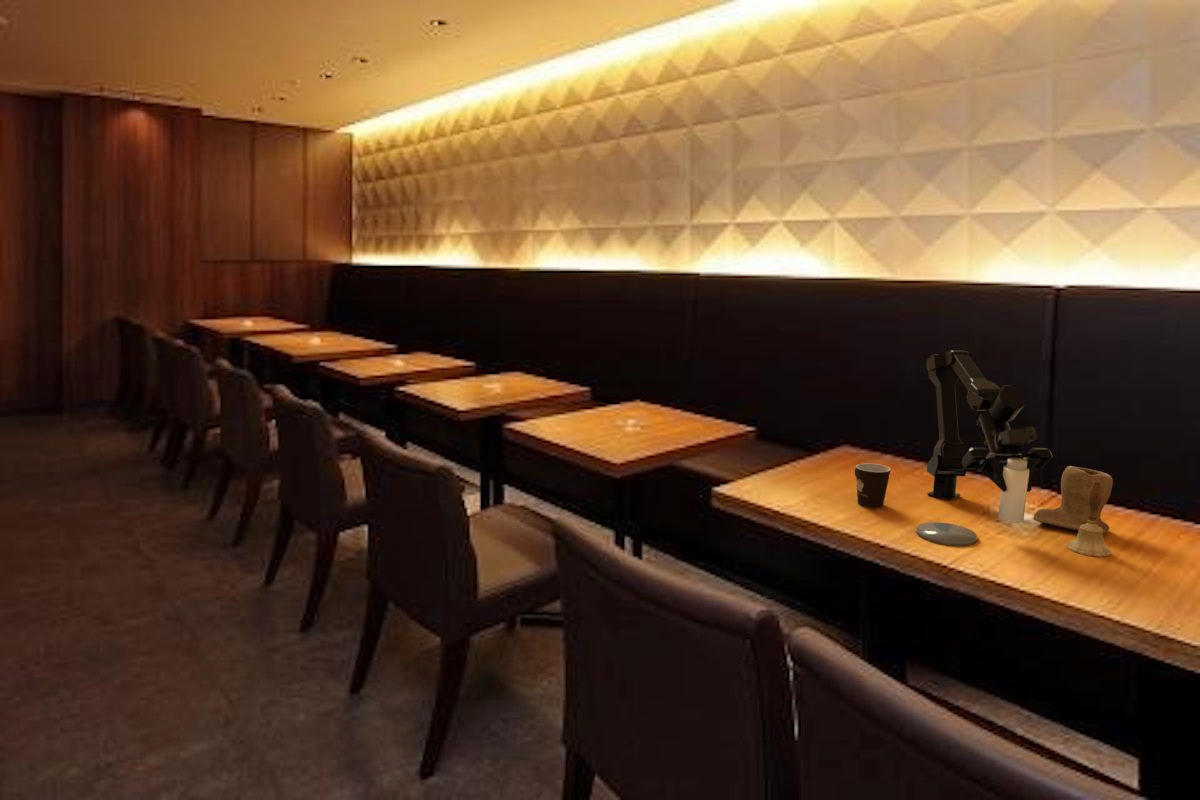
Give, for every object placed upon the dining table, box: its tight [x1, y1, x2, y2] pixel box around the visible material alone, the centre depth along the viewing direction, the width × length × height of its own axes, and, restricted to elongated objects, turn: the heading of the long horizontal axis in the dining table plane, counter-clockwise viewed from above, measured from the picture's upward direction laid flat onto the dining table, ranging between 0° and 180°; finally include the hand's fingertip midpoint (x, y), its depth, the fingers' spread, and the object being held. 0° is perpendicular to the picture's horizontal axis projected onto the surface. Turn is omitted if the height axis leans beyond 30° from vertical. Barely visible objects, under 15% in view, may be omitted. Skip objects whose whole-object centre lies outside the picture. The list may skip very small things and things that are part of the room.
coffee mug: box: [854, 462, 891, 509], centre depth 208 cm, size 12×9×10 cm
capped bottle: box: [998, 458, 1029, 523], centre depth 179 cm, size 5×5×14 cm
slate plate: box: [915, 521, 978, 547], centre depth 185 cm, size 13×13×1 cm
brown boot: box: [1033, 465, 1114, 534], centre depth 190 cm, size 15×12×15 cm
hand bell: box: [1067, 481, 1112, 558], centre depth 175 cm, size 8×8×16 cm
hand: (1017, 491), depth 178 cm, fingers closed on capped bottle, 5 cm apart
